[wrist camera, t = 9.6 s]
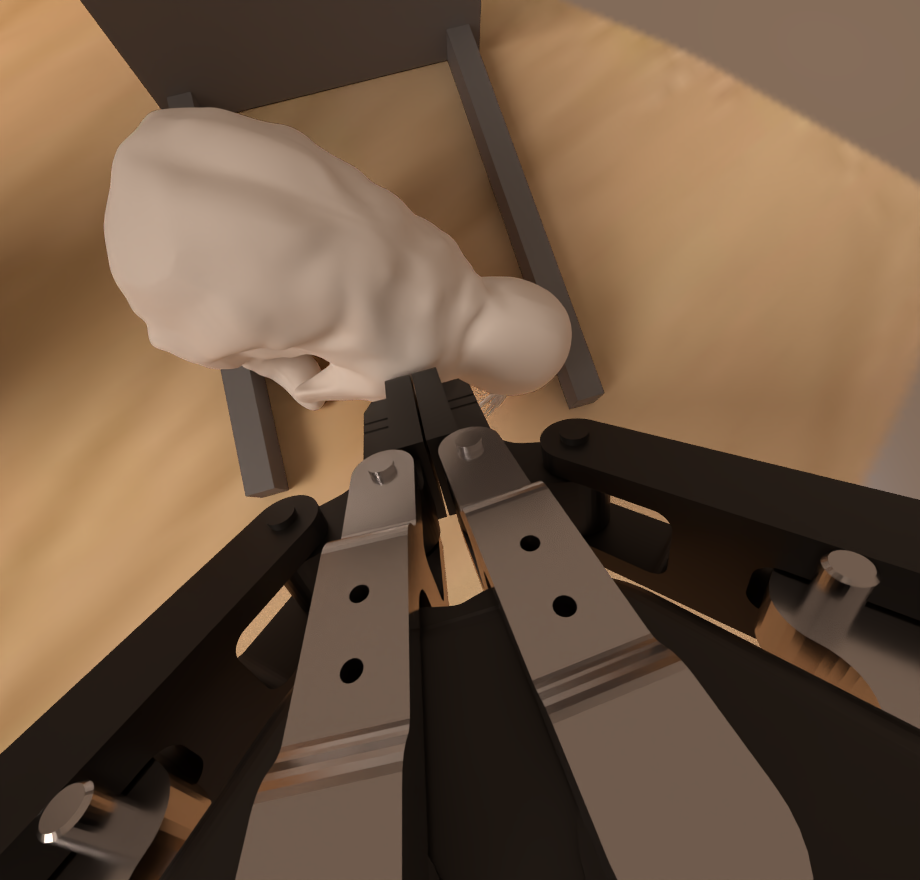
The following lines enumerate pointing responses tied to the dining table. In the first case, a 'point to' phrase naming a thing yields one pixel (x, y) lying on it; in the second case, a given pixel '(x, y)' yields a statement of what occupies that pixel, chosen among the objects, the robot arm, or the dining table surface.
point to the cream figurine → (308, 268)
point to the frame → (317, 69)
